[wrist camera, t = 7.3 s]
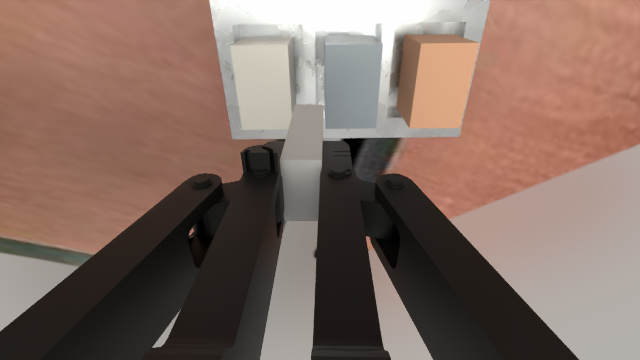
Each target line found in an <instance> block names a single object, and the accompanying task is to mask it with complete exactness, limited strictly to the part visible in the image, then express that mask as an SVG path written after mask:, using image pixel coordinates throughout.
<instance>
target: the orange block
mask: <svg viewBox="0 0 640 360" xmlns="http://www.w3.org/2000/svg"><path fill="white" fill-rule="evenodd" d="M478 48H479V42H476V41H473V40H470V39H467V38H463V37H460V36H457V35H454V34H434V35H405V36H404V45H403V53H402V62H401V71H400V80H399V89H398V97H397V106H396V109H397V110H398V112H399V113H400V115H401V116H402V118H403V120H404V121H405V123H406V124H407V126H408V127H409V129H412V128H460V127H461V123H462V118H463V114H464V110H465V105H466V101H467V96H468V92H469V88H470V83H471V79H472V74H473V70H474V65H475V61H476V57H477V52H478Z"/></svg>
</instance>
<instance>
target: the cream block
mask: <svg viewBox="0 0 640 360" xmlns="http://www.w3.org/2000/svg"><path fill="white" fill-rule="evenodd" d="M230 50H231V56H232V63H233V70H234V77H235V84H236V91H237V97H238V104H239V111H240V118H241V125H242V130H276V129H289V125H290V122H291V118H292V115H293V111H294V108H295V104H296V86H295V67H294V47H293V36H271V37H244V38H242V39H240V40H239V41H237V42H235V43H234V44H232V45H230Z"/></svg>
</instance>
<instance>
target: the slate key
mask: <svg viewBox="0 0 640 360" xmlns="http://www.w3.org/2000/svg"><path fill="white" fill-rule="evenodd" d="M382 51H383V43H382V42H380V41H379V40H378V39H377V38H376V37H374V36H373V35H347V36H324V66H325V129H366V128H376V123H377V111H378V99H379V87H380V75H381V63H382Z"/></svg>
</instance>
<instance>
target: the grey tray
mask: <svg viewBox="0 0 640 360" xmlns="http://www.w3.org/2000/svg"><path fill="white" fill-rule="evenodd" d="M209 2H210V8H211V14H212V20H213V26H214V32H215V38H216V44H217V50H218V56H219V62H220V68H221V74H222V80H223V86H224V92H225V98H226V104H227V110H228V116H229V122H230V128H231V134H232V139H286V136H287V133H288V129H276V130H242V125H241V118H240V111H239V104H238V97H237V91H236V84H235V77H234V70H233V63H232V56H231V50H230V45H232V44H234V43H235V42H237V41H239V40H240V39H242V38H244V37H271V36H293V47H294V67H295V86H296V104H311V105H323V138H395V137H459V135H460V131H461V127H462V123H461V127H460V128H412V129H409V127H408V126H407V124H406V123H405V121H404V120H403V118H402V116H401V115H400V113H399V112H398V110H397V109H396V106H397V97H398V89H399V80H400V71H401V62H402V53H403V45H404V36H405V35H434V34H454V35H457V36H460V37H463V38H467V39H470V40H473V41H476V42H479V48H480V43H481V39H482V35H483V30H484V26H485V21H486V17H487V13H488V8H489V4H490V0H209ZM347 35H373V36H374V37H376V38H377V39H378V40H379V41H380V42H382V43H383V51H382V63H381V75H380V87H379V99H378V111H377V123H376V128H366V129H325V66H324V36H347ZM479 48H478V52H479ZM478 52H477V56H478ZM476 61H477V57H476ZM476 61H475V65H476ZM475 65H474V70H475ZM474 70H473V74H474ZM473 74H472V78H473ZM471 83H472V79H471ZM471 83H470V87H471ZM469 92H470V88H469ZM469 92H468V96H469ZM468 96H467V100H468ZM466 105H467V101H466ZM466 105H465V109H466ZM464 113H465V110H464ZM463 118H464V114H463ZM463 118H462V122H463Z"/></svg>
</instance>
